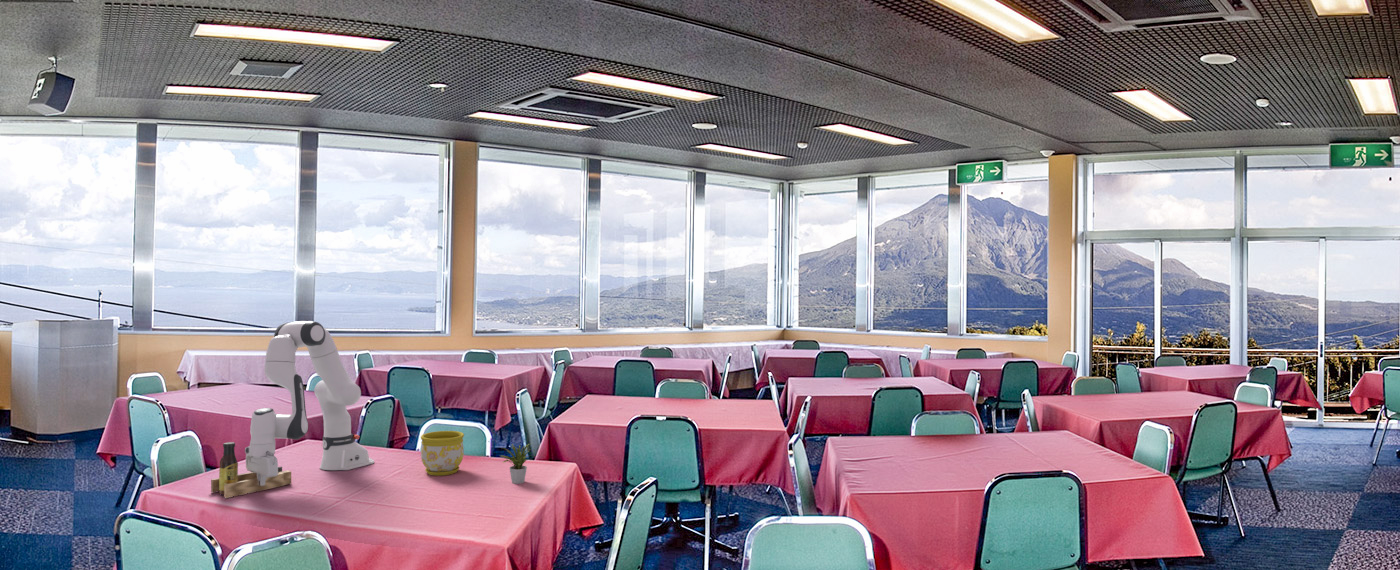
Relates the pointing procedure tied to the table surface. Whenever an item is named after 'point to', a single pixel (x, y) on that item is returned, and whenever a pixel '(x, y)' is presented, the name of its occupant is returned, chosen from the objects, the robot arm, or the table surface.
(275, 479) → the oak jaw
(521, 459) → the house plant
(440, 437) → the flowerpot
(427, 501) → the table surface
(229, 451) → the sauce bottle
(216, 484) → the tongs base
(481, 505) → the table surface
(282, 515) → the table surface
